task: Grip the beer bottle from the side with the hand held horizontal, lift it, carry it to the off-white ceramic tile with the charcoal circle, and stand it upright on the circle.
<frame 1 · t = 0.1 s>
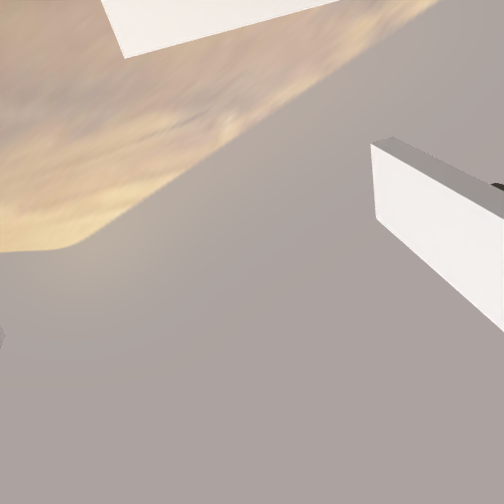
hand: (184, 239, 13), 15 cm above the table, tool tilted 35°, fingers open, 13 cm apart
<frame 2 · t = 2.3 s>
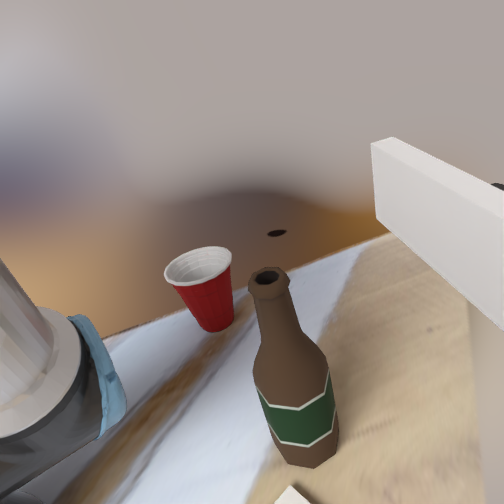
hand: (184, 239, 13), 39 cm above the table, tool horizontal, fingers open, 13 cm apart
plastic cup: (217, 320, 70), on the table
beer bottle: (307, 440, 49), on the table
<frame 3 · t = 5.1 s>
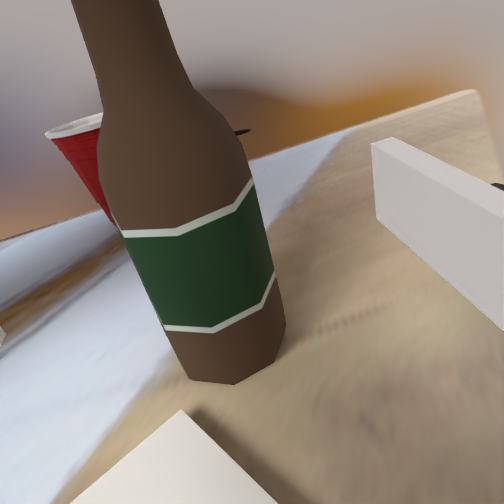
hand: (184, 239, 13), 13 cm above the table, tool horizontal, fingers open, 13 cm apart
plastic cup: (138, 216, 50), on the table
beer bottle: (232, 344, 28), on the table
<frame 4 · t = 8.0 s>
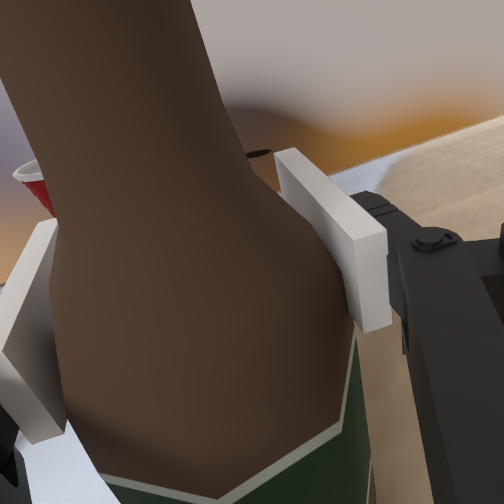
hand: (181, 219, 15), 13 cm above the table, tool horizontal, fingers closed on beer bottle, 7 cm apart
plastic cup: (137, 270, 39), on the table
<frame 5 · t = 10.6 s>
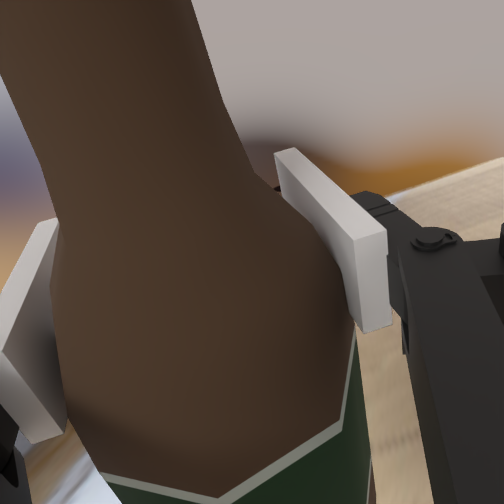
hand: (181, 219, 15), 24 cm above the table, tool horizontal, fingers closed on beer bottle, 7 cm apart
when the fingers open (16 cm above the table, at t = 13.5 s): beer bottle drops 1 cm, resting on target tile.
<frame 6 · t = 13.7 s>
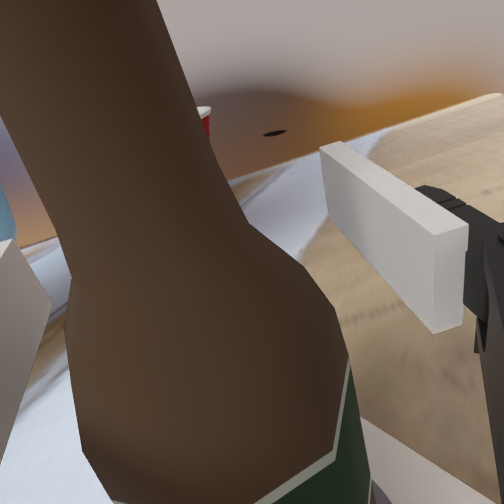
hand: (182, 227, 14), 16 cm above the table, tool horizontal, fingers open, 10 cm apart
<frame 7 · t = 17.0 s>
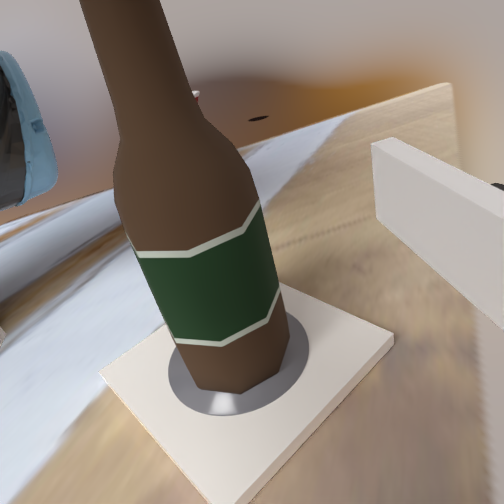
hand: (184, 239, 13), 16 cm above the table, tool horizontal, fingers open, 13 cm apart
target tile: (241, 363, 30), on the table
beer bottle: (238, 354, 29), point 1 cm above the table, touching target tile
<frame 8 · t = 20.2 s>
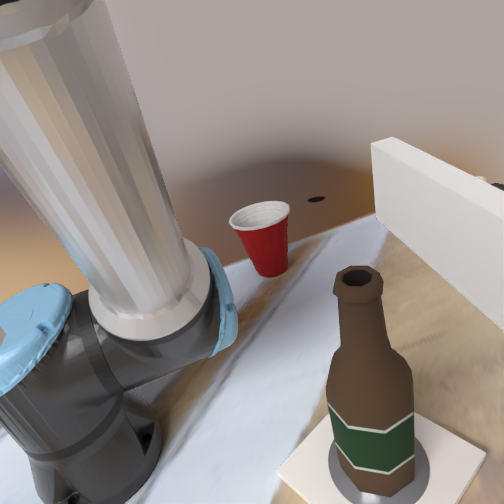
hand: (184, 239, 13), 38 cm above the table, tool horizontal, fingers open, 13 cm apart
plastic cup: (272, 268, 79), on the table
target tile: (377, 467, 44), on the table
beer bottle: (377, 463, 43), point 1 cm above the table, touching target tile
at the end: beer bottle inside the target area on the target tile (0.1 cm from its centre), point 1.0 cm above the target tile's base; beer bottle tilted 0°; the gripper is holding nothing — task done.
